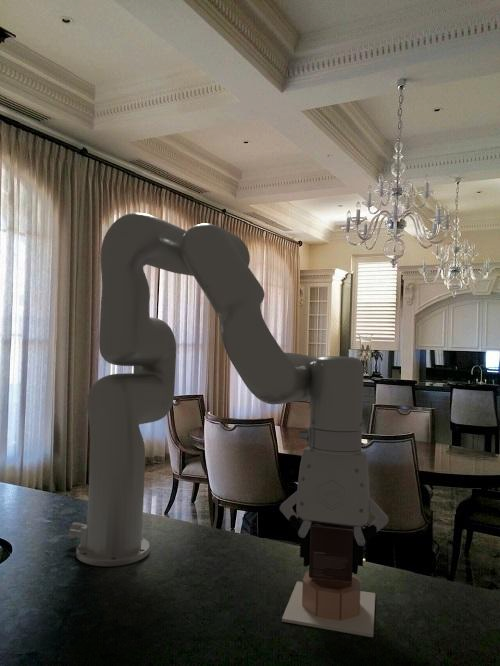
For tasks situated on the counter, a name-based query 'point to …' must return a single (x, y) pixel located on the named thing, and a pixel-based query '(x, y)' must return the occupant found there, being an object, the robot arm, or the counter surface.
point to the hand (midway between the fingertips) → (331, 565)
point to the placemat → (353, 625)
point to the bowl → (331, 597)
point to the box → (331, 552)
